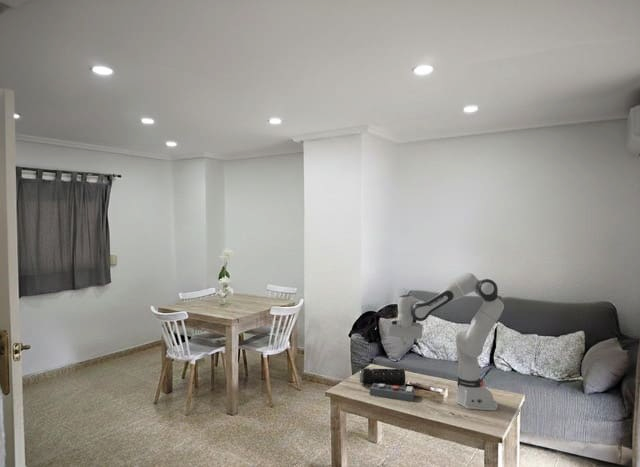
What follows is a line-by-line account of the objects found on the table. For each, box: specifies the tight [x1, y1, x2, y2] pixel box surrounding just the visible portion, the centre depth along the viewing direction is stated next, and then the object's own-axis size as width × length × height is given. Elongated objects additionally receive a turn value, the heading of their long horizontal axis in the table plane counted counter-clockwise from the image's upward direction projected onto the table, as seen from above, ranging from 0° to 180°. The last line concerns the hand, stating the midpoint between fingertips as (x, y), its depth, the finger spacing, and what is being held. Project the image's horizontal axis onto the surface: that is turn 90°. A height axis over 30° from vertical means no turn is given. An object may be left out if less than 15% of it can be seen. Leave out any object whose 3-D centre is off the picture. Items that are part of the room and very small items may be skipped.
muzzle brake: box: [358, 367, 406, 386], centre depth 262 cm, size 10×28×10 cm, turn 89°
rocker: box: [406, 385, 414, 392], centre depth 242 cm, size 3×5×1 cm, turn 158°
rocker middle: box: [391, 385, 400, 389], centre depth 245 cm, size 3×5×1 cm, turn 158°
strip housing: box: [369, 383, 416, 402], centre depth 245 cm, size 25×9×4 cm, turn 68°
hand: (405, 344), depth 249 cm, fingers closed
